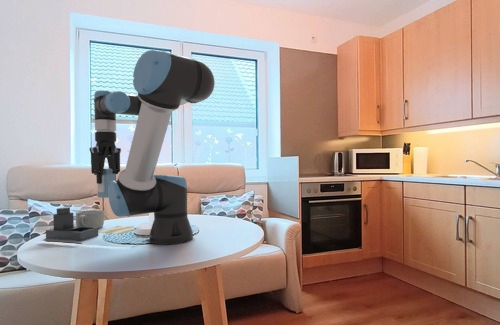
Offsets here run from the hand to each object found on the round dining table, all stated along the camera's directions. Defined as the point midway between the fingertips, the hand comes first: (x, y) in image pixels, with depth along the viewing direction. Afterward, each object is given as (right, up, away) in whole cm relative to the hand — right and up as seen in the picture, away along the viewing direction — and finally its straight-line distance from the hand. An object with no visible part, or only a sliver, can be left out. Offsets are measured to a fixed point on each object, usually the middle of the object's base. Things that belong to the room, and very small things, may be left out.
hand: (106, 191), depth 121 cm
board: (+3, -17, +4) cm, 18 cm away
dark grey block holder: (-9, -17, -7) cm, 21 cm away
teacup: (-11, -17, +7) cm, 21 cm away
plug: (0, -2, 0) cm, 2 cm away
